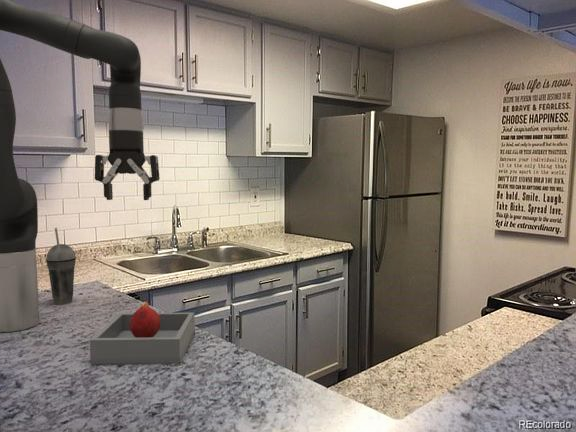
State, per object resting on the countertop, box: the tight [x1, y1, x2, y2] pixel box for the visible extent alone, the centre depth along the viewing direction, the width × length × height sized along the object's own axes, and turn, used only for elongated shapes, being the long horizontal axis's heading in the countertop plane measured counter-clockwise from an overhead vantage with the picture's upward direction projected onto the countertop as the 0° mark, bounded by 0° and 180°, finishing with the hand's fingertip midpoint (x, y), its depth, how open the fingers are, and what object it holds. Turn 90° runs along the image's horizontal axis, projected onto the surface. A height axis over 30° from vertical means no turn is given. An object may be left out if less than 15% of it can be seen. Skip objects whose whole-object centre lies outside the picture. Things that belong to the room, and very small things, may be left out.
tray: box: [89, 312, 196, 365], centre depth 92 cm, size 16×16×4 cm
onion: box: [129, 301, 161, 338], centre depth 92 cm, size 6×6×8 cm
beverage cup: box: [45, 227, 77, 306], centre depth 124 cm, size 7×7×20 cm
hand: (128, 199), depth 109 cm, fingers open, 8 cm apart
